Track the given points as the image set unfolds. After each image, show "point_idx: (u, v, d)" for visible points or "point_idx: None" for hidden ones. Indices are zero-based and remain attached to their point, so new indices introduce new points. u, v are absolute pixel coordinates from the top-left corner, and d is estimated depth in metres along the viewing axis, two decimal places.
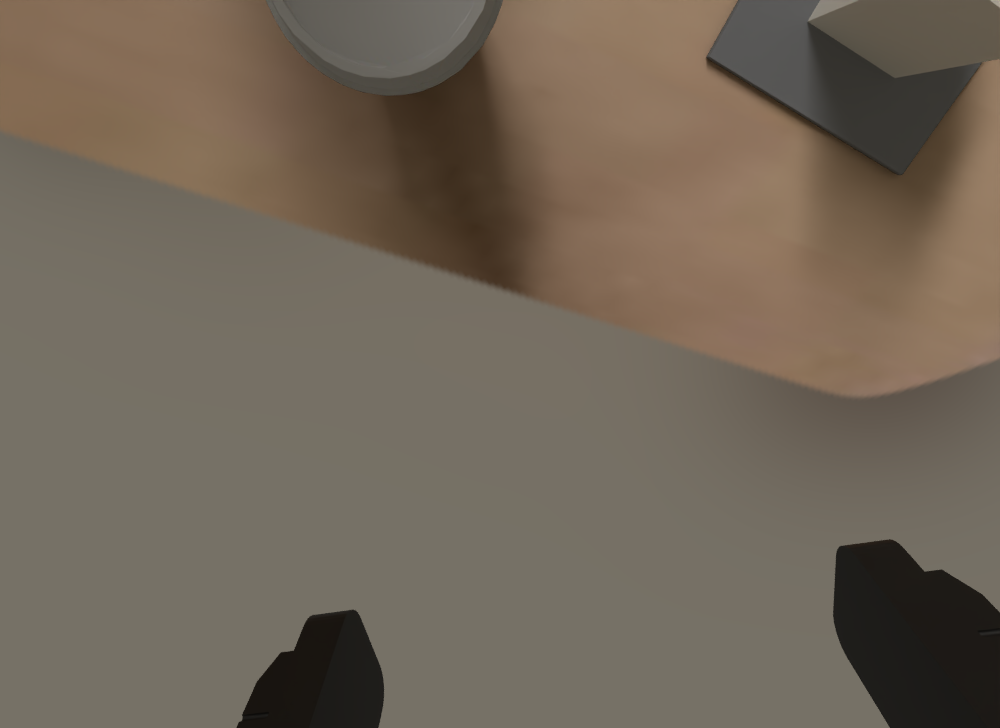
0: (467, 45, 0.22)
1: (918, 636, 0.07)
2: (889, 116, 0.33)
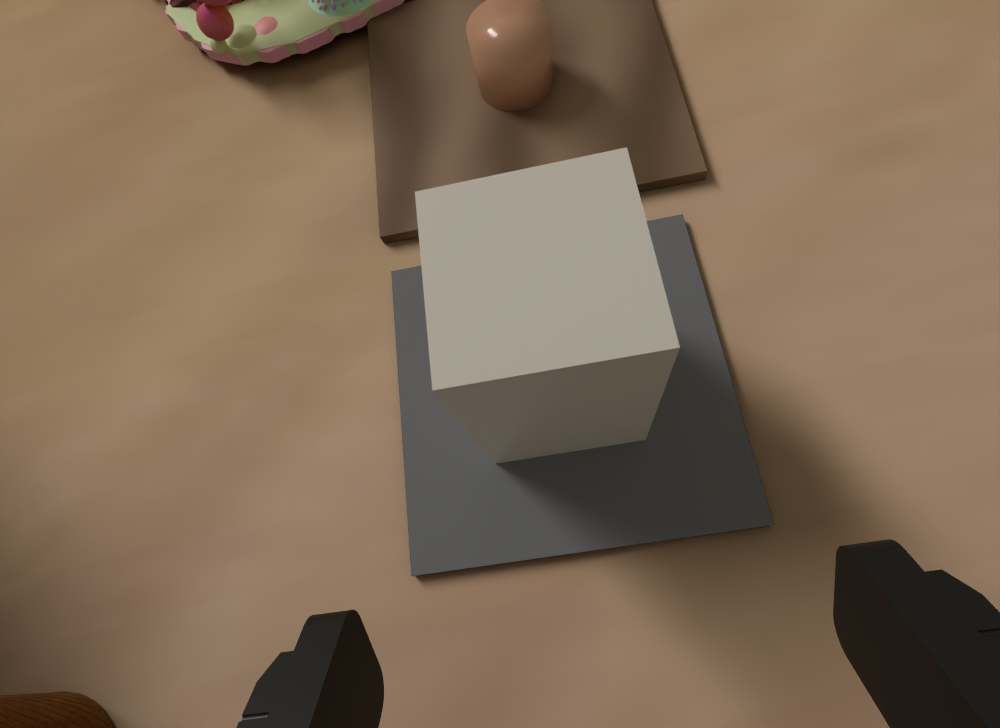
0: None
1: (918, 636, 0.07)
2: (682, 477, 0.22)
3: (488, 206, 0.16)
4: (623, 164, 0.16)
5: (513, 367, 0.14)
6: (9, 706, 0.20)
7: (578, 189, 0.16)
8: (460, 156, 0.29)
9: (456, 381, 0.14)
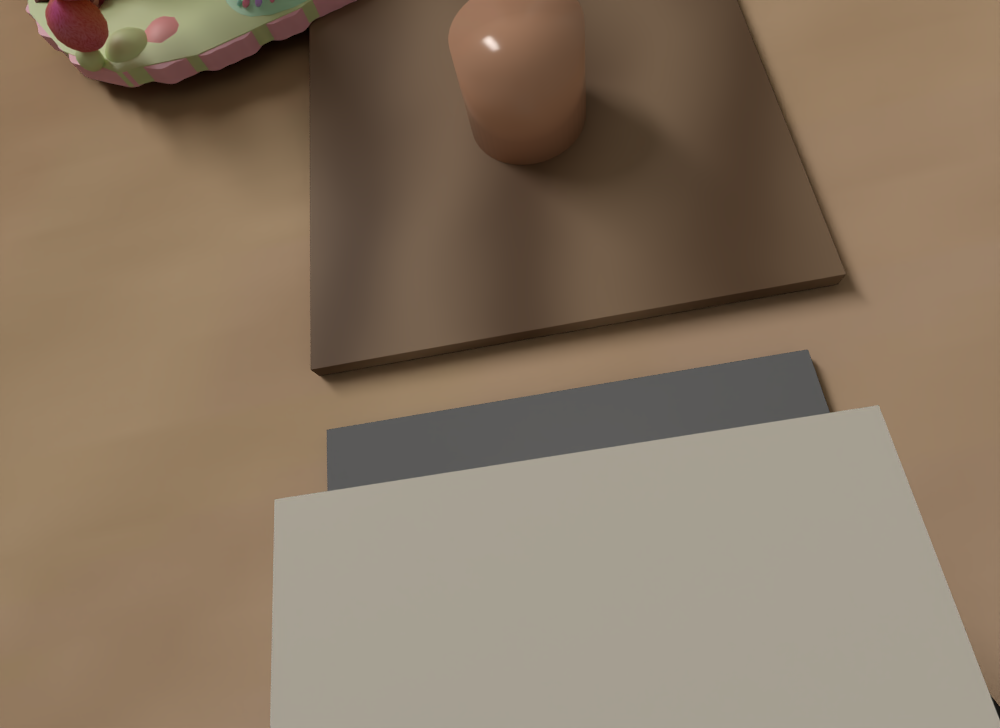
0: None
1: None
2: None
3: (474, 575, 0.06)
4: (876, 465, 0.05)
5: None
6: None
7: (744, 544, 0.05)
8: (441, 236, 0.19)
9: None
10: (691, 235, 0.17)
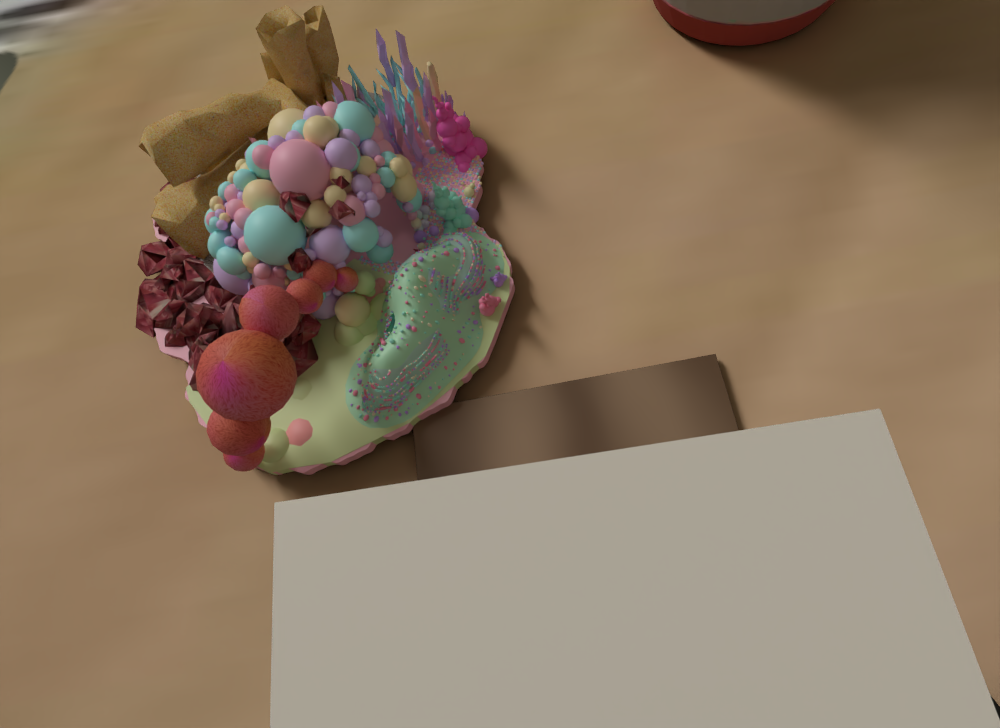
0: None
1: None
2: None
3: (474, 578, 0.06)
4: (877, 468, 0.05)
5: None
6: None
7: (745, 548, 0.05)
8: None
9: None
10: None
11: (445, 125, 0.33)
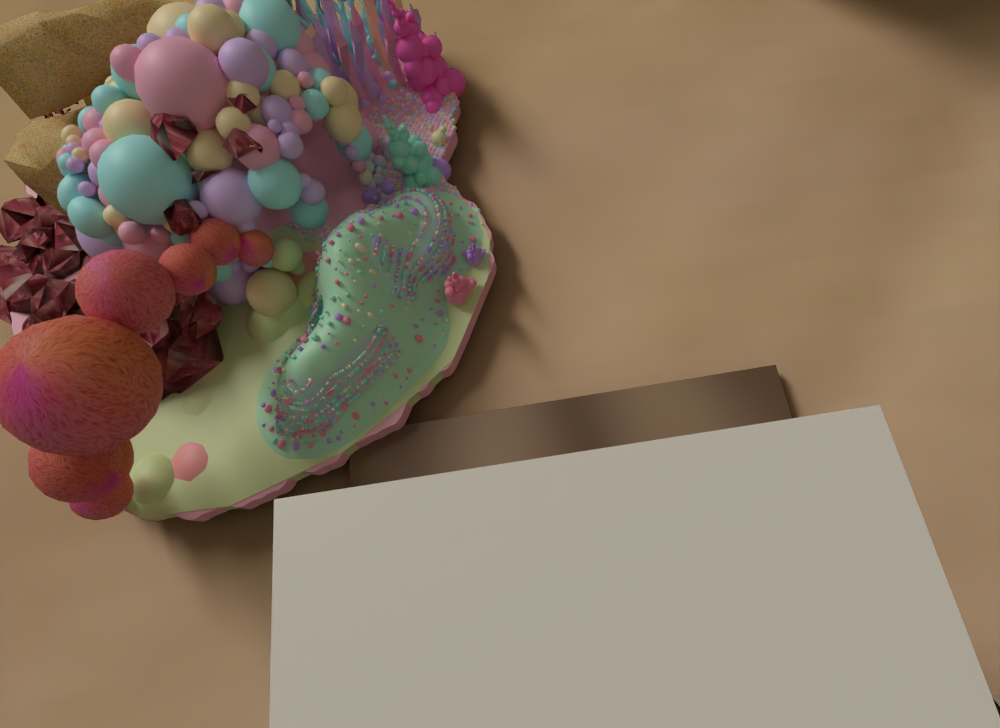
0: None
1: None
2: None
3: (474, 575, 0.06)
4: (877, 464, 0.05)
5: None
6: None
7: (744, 544, 0.05)
8: None
9: None
10: None
11: (407, 44, 0.24)
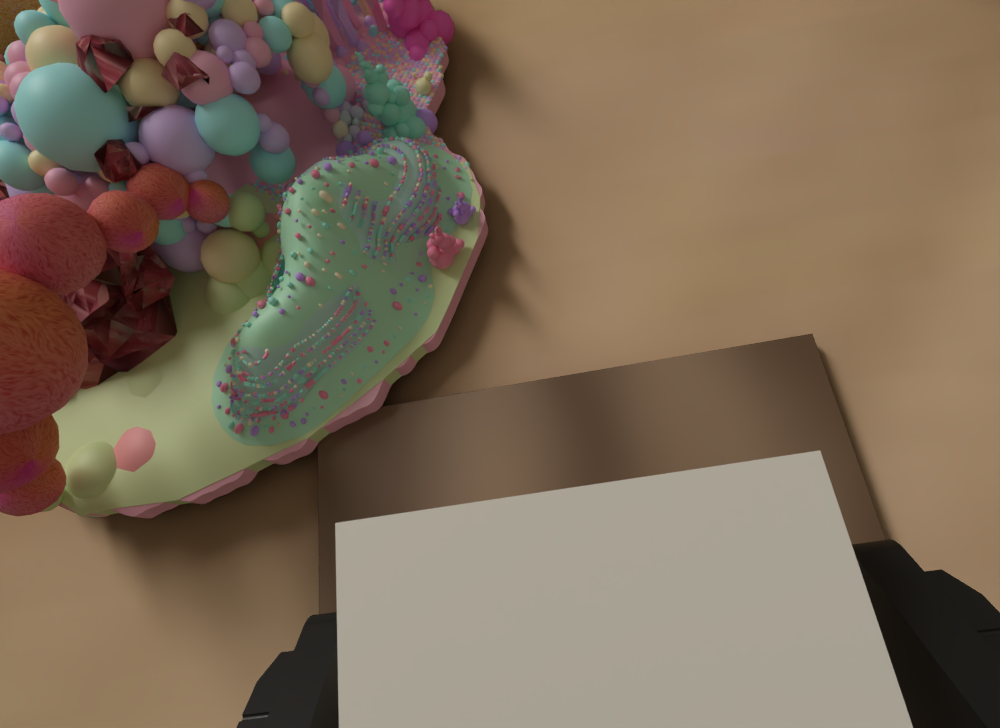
0: None
1: (918, 636, 0.07)
2: None
3: (499, 585, 0.07)
4: (817, 498, 0.07)
5: None
6: None
7: (711, 561, 0.07)
8: None
9: None
10: None
11: None
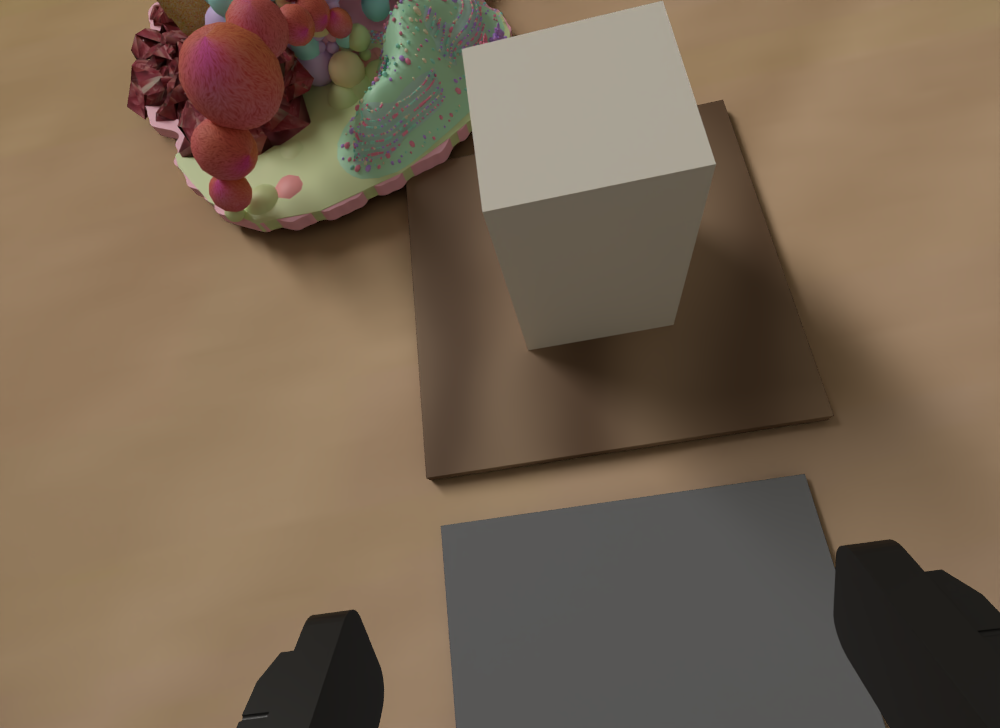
0: None
1: (918, 636, 0.07)
2: None
3: (532, 57, 0.17)
4: (659, 15, 0.17)
5: (558, 189, 0.15)
6: None
7: (617, 38, 0.17)
8: (522, 371, 0.24)
9: (505, 203, 0.16)
10: (716, 379, 0.23)
11: None
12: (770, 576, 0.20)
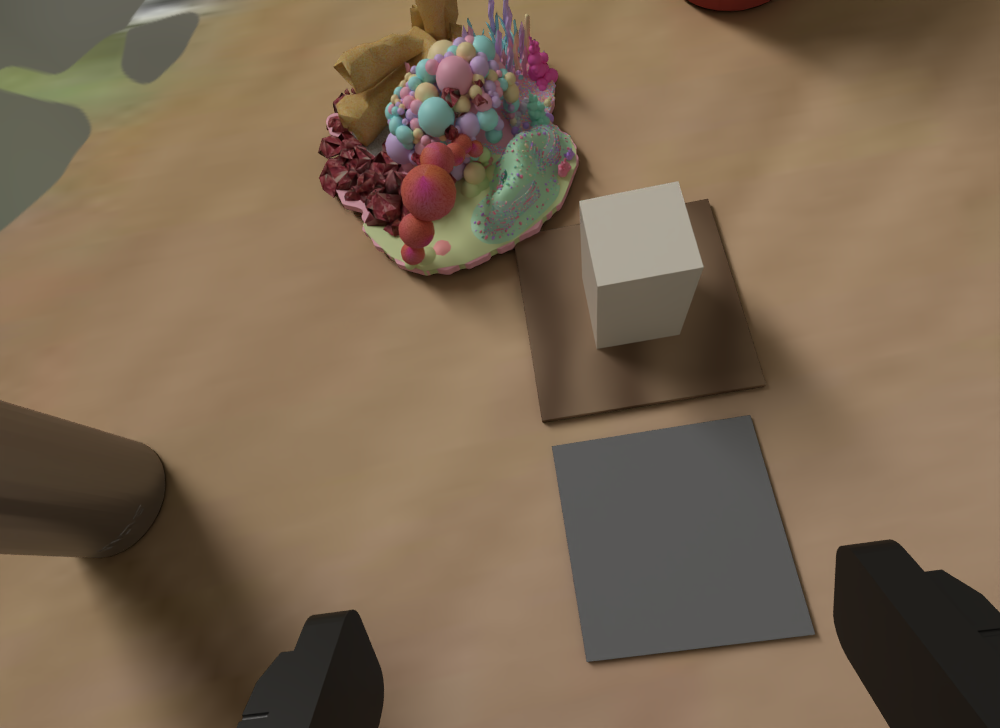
0: None
1: (918, 636, 0.07)
2: (757, 601, 0.36)
3: (615, 208, 0.36)
4: (677, 189, 0.35)
5: (632, 276, 0.34)
6: None
7: (656, 200, 0.35)
8: (593, 361, 0.43)
9: (607, 282, 0.34)
10: (703, 364, 0.42)
11: (534, 57, 0.50)
12: (731, 466, 0.39)
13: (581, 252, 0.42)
